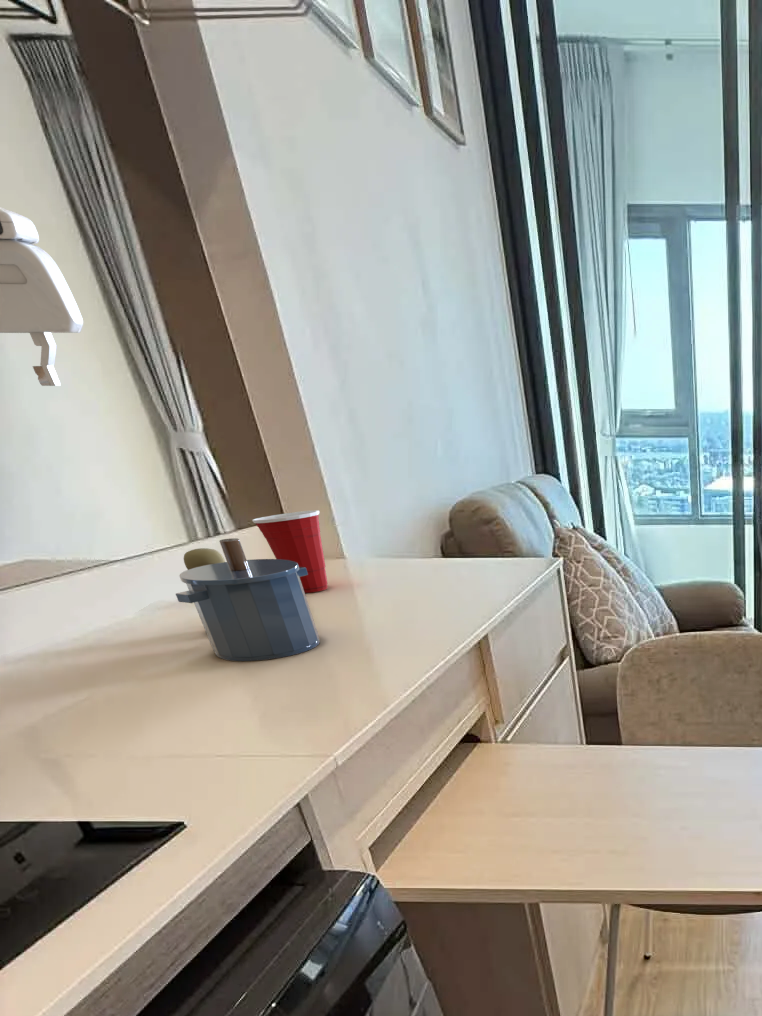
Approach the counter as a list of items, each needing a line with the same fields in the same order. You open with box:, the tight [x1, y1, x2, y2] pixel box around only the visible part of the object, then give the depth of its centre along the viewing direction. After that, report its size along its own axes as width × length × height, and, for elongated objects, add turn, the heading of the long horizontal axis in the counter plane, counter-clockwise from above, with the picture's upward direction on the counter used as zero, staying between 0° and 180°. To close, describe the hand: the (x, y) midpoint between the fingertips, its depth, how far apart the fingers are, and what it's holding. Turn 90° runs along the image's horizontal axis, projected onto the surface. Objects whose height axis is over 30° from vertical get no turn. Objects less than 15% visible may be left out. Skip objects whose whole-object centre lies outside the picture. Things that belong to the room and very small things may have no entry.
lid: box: [178, 537, 299, 585], centre depth 114 cm, size 15×15×5 cm
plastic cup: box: [251, 509, 328, 594], centre depth 148 cm, size 11×11×12 cm
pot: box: [175, 567, 321, 662], centre depth 118 cm, size 14×19×10 cm
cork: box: [183, 547, 226, 570], centre depth 125 cm, size 6×6×11 cm
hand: (3, 386), depth 94 cm, fingers open, 8 cm apart
